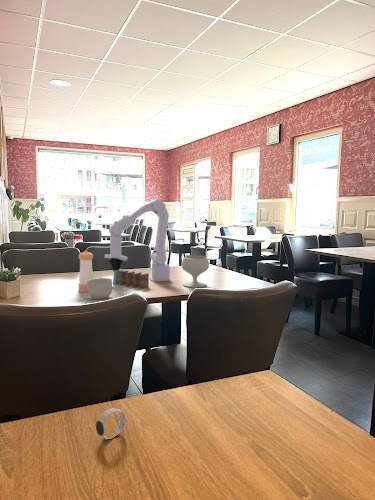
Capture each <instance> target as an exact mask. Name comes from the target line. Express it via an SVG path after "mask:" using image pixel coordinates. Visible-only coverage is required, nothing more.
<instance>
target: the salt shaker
mask: <svg viewBox="0 0 375 500" xmlns="http://www.w3.org/2000/svg"><path fill="white" fill-rule="evenodd" d="M77 257H78V259H79V276H78V280H79V283H78V292H80V293H88V288H87V281H89V280H92V279H94V273H93V272H94V271H93V262H92V261H93V259H94V257H95V256H94V254H93V253H92V252H90V251H88V250H84V251H83V252H80V253H79V254H78V256H77Z"/></svg>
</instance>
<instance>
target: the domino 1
mask: <svg viewBox="0 0 375 500" xmlns="http://www.w3.org/2000/svg"><path fill="white" fill-rule="evenodd" d="M120 271H124V269H122V268H119V270H114V272H113V277H112V278H113V279H112V285H117V284H120V275H119V272H120Z"/></svg>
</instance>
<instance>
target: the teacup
mask: <svg viewBox="0 0 375 500" xmlns="http://www.w3.org/2000/svg"><path fill="white" fill-rule="evenodd" d="M87 288H88V292H87V294H88V296H89V297H90V298H92V299H93V300H105V299H108V298H109V297H110V296H111V295H112V292H113V279H112V278H106V277H98V278H93V279H92V280H89V281H87Z"/></svg>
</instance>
